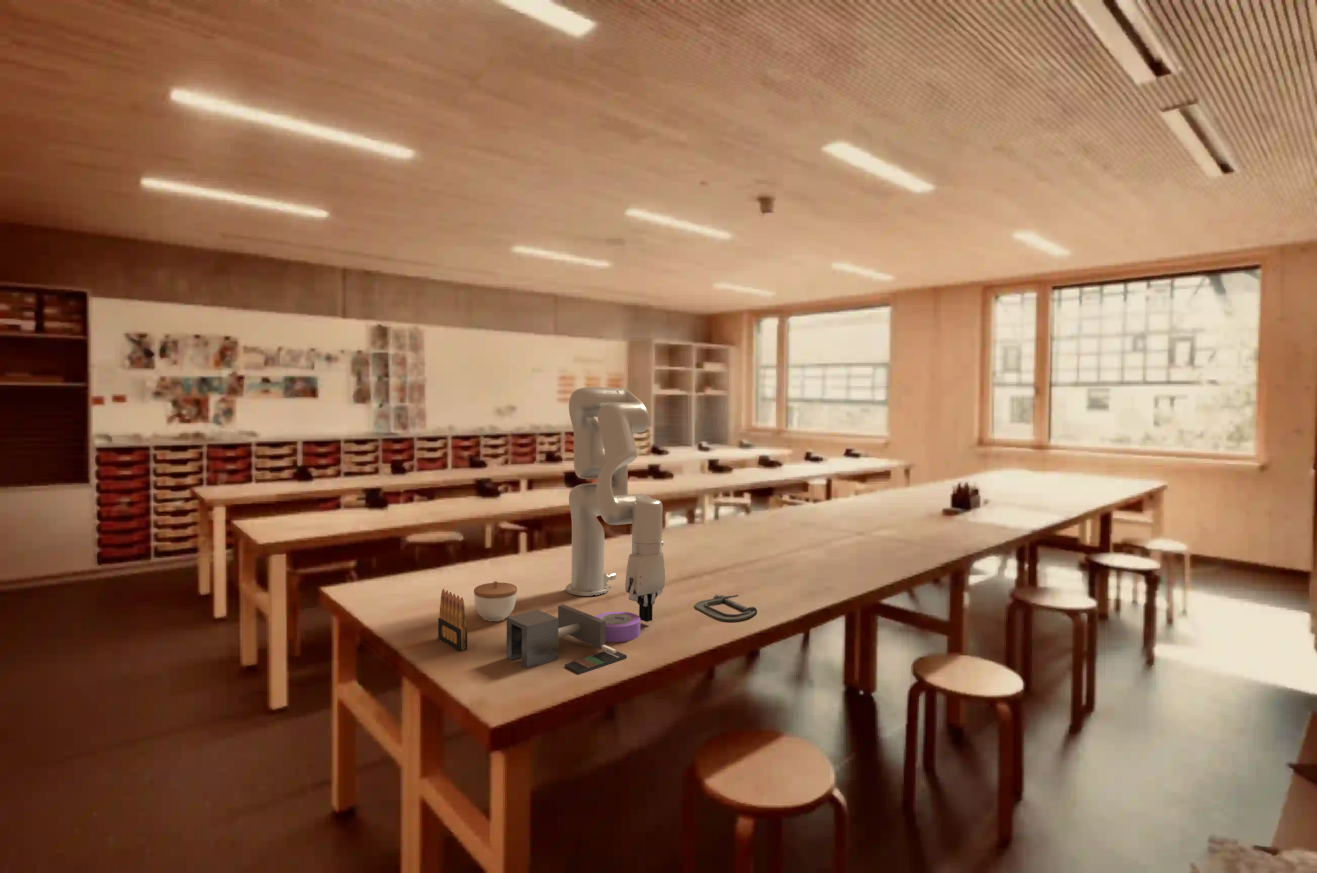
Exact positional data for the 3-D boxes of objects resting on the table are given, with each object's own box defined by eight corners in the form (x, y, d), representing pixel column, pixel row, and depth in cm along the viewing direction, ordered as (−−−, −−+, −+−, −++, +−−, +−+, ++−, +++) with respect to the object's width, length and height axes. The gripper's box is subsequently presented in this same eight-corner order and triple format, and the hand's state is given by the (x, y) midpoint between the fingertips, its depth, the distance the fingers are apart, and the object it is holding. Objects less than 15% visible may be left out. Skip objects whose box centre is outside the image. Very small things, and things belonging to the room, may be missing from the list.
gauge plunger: (563, 628, 163) (563, 604, 163) (617, 652, 149) (618, 625, 148) (506, 644, 152) (506, 618, 152) (559, 671, 138) (560, 642, 138)
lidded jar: (523, 613, 178) (523, 577, 178) (506, 626, 168) (506, 589, 167) (485, 609, 180) (485, 575, 180) (466, 622, 170) (466, 585, 169)
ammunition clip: (437, 639, 158) (437, 588, 158) (445, 637, 160) (445, 587, 159) (460, 652, 151) (460, 598, 150) (467, 649, 152) (467, 597, 151)
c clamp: (684, 603, 191) (684, 594, 190) (737, 597, 198) (737, 588, 198) (720, 626, 172) (720, 616, 172) (777, 618, 179) (777, 608, 179)
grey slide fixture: (578, 636, 161) (578, 599, 161) (626, 657, 149) (627, 617, 148) (506, 657, 148) (506, 616, 147) (553, 682, 135) (553, 638, 135)
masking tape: (582, 633, 164) (582, 617, 164) (618, 622, 173) (618, 607, 172) (613, 646, 156) (613, 630, 156) (650, 634, 164) (650, 619, 164)
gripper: (657, 541, 178) (656, 610, 179) (614, 549, 167) (613, 622, 169) (678, 546, 173) (676, 617, 174) (635, 555, 162) (633, 630, 163)
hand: (645, 619), depth 171 cm, fingers closed
